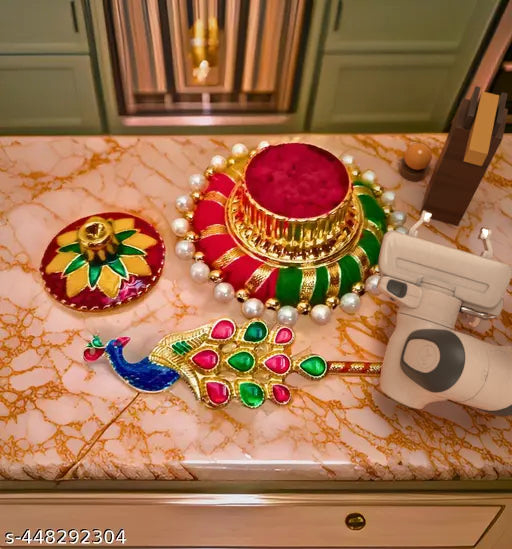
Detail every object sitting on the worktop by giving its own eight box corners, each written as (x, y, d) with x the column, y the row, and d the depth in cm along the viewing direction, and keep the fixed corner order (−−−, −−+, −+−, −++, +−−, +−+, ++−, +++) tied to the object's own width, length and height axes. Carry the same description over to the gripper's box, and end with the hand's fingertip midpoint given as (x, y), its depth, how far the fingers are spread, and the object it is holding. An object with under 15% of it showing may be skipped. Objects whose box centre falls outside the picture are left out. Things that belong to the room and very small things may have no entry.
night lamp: (416, 158, 128) (425, 133, 122) (432, 176, 125) (441, 152, 119) (393, 166, 126) (401, 141, 120) (408, 184, 124) (417, 160, 117)
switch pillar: (457, 226, 118) (509, 125, 95) (419, 215, 119) (461, 113, 96) (464, 198, 122) (514, 95, 99) (426, 188, 123) (468, 84, 101)
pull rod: (481, 166, 94) (487, 153, 91) (463, 161, 94) (468, 148, 92) (493, 108, 101) (499, 95, 99) (476, 103, 102) (482, 91, 100)
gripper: (503, 324, 86) (530, 236, 86) (369, 282, 89) (396, 198, 90) (492, 324, 92) (517, 242, 92) (367, 285, 95) (392, 206, 96)
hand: (456, 220), depth 91 cm, fingers open, 8 cm apart
